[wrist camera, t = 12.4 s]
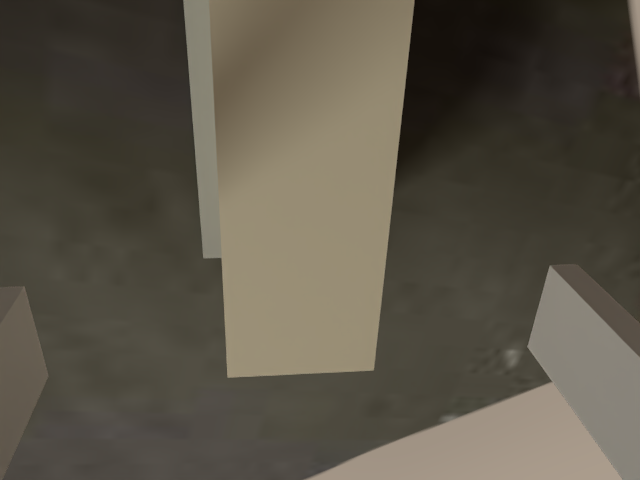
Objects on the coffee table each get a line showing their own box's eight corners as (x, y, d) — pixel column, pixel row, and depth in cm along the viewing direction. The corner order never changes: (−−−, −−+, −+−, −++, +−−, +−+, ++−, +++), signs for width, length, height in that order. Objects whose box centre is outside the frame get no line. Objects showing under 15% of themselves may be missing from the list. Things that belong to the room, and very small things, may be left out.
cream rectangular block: (219, -152, 20) (197, -241, 11) (355, -143, 20) (439, -220, 11) (234, 240, 27) (227, 377, 18) (333, 238, 28) (373, 370, 19)
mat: (170, -188, 19) (168, -191, 19) (389, -173, 20) (392, -176, 20) (204, 254, 28) (203, 258, 27) (358, 249, 28) (359, 253, 28)
